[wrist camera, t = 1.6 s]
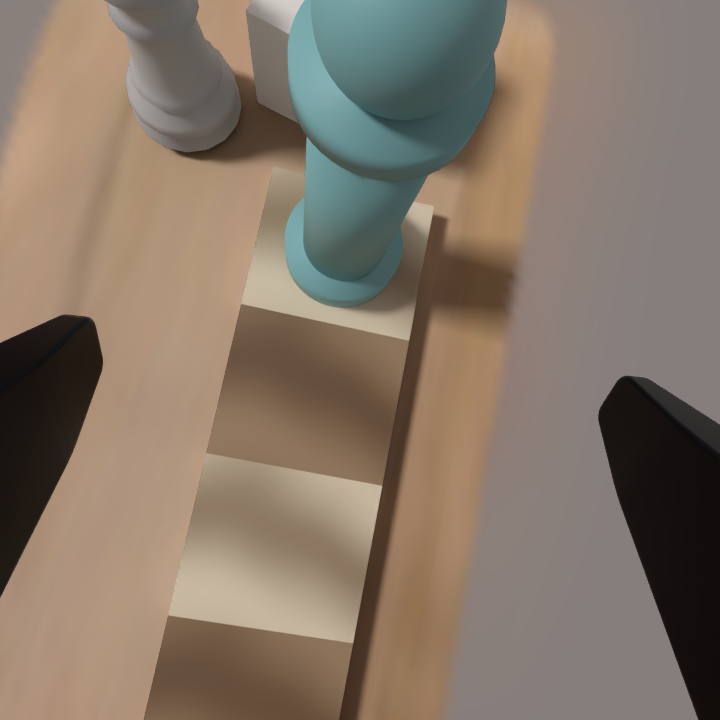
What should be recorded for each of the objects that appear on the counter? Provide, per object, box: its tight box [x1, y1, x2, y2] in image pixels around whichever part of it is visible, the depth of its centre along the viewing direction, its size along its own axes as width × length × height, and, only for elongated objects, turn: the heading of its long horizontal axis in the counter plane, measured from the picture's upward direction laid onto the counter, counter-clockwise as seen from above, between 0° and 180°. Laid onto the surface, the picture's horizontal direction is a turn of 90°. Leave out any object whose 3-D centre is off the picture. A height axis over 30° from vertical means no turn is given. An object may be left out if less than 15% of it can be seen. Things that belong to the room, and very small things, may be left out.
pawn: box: [285, 0, 507, 308], centre depth 13 cm, size 5×5×14 cm
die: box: [246, 0, 305, 124], centre depth 20 cm, size 5×5×5 cm
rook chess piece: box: [105, 0, 242, 152], centre depth 17 cm, size 4×4×8 cm
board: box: [144, 167, 434, 720], centre depth 20 cm, size 24×7×1 cm, turn 169°
